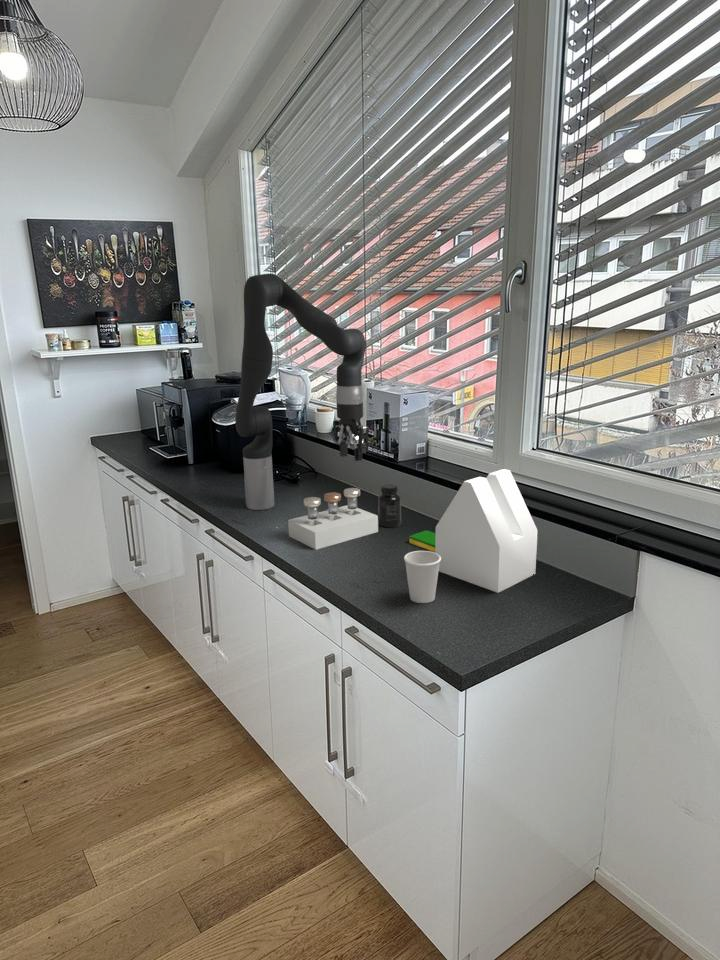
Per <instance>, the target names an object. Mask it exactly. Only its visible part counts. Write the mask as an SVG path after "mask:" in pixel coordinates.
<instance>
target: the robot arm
mask: <svg viewBox="0 0 720 960" xmlns="http://www.w3.org/2000/svg"><path fill="white" fill-rule="evenodd" d="M274 306H277V307H279V308H282V309H284V310H287V311H288V312H290V314H291V315H293V317H294V318H295V320H296V322H297V323H298V325H299V327H301V328H302V329H303V330H305V331H307V332H308V333H310V334H311V335H313V336H314V337H316V338H318V339H319V340H321V342H322V343H323V344H324V345H325V346H326V347H327V348H328V349H329V350H330V351H331V352H333V353H334V354H336V355H338V356H343V357H342V358H343V359H342V362H341V363H340V364H339V365H337V368H336V395H335V396H336V397H335V398H336V400H335V401H336V417H337V418H338V419H337V420H333V421H332V424H333V435H334V441H335V442H338V444H339V455H340V457H342V458H344V457H347V456H349V455H348V454H349V453H348V452H349V451H348V447H349V446H348V441H349V439H350V441H351V442H352V443H353V447H354V450H353V451H354V461H355V462H360V461H363V448H364V447H367V446H369V425H362V423H361V420H362V418H363V417H364V392H363V383H362V381H363V377H362V369H363V365H364V359H365V354H366V338H365V335H364V334H363V333H364V332H362V331H361V330H360V329H358V328H345V329H344V328H341V327H340V326H338V321H337V320H336V319H335V318H334V317H332V315H330V314H328V313H326V312H325V311H323V310H321V309H320V308H318V307H317V306H316V305H314V304H312V303H311V302H309V301H308V300H306V299H305V298H304V297H303V296H302V295H300V294H299V293H298V292H297V291H296V290H294V289H293V287H292V286H290V285H288V283H287V282H286V281H284V280H283V279H282V278H281V277H280V276H278V275H277V274H274V273H263V274H256V275H252V276H249V277H248V278H247V279H246V281H245V284H244V287H243V316H244V317H243V319H244V320H243V321H244V323H243V325H244V326H243V346H242V351H241V354H242V355H241V371H240V386H239V393H238V397H237V398H238V399H237V405H236V411H235V421H234V422H235V429H236V433H237V434H238V435H239V436H240V437H243V438H248V437H249V438H250V437H255V438H253V439H254V440H253V441H251V442H250V443H249V444H246V446H244V447H243V448H242V460H243V471H244V472H243V473H244V475H243V476H244V478H243V479H244V480H243V481H244V494H245V495H244V496H245V497H244V498H245V505H246V508H247V509H248V510H254V511H262V510H269V509H271V508H273V507H274V506H275V490H274V476H273V475H274V474H273V470H274V469H273V457H272V456H273V455H272V450H273V417H272V412H271V411H270V409H269V408H268V407H267V406H265V405H259V406H254V405H255V404H254V403H255V399H256V397H257V395H258V393H259V392H260V390H261V389H262V387H263V386H264V385H265V383H266V382H267V380H268V378H270V375H271V373H272V368H273V358H274V356H273V355H274V349H273V345H272V342H271V340H270V338H269V336H268V333H267V330H266V326H265V325H266V312H267V307H268V308H269V307H274Z"/></svg>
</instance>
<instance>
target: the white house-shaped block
mask: <svg viewBox="0 0 720 960" xmlns="http://www.w3.org/2000/svg"><path fill="white" fill-rule="evenodd" d="M532 517H533V516H532V514H531V513H530V511H529V508H528V507H527V505H526V503H525V500H524V497H523V496H522V493H521V491H520V489H519V487H518V485H517V482H516V480H515V478H514V476H513V474H512V471H511V470H510V469H504V468H503V469H502V468H501V469H499V470H497V471H492V472H490V473H489V474H487V476H486V477H482V476H478V477H474V478H471V479H467V480H464V481H463V483H462V484H461V486H460V487H459V489H458V491H457V493H456V494H455V496H454V497H453V499H452V500H451V502H450V503H449V505H448V507H447V508H446V510H445V511H444V513H443V515H442V516H441V518H440V519H439V521H438V522H437V524H436V526H435V533H436V543H435V552H434V553H436V554H438V555H439V556H440V557H441V561H440V564H439V571H438V572H439V573H443V574H446V575H448V576H450V577H453V578H456V579H459V580H462V581H465V582H467V583H470V584H472V585H476V586H478V587H481V588H484V589H486V590H489V591H492V592H494V593H497V594H498V593H501V592H503V591H505V590H506V589H508V588H511V587H512V586H514V585H517V584H518V583H520V582H523V581H524V580H526V579H528V578H530V577H532V576H534V575H536V572H537V571H536V569H537V568H536V567H537V551H538V550H537V549H538V548H537V547H538V528H537V526H536V524H535V522H534V519H533V518H532ZM533 574H534V575H533Z"/></svg>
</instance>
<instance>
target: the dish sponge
mask: <svg viewBox="0 0 720 960" xmlns="http://www.w3.org/2000/svg"><path fill="white" fill-rule="evenodd" d="M408 539H409V541H408V542H409V544H411V545H414V546H417V547H419V548H423V549H425V550H426V551H430V552H434V553H435V543H436V532H434V531H433V532H432V531H430V530H423V531H420V532H417V533H413V534H412V535H409V538H408Z"/></svg>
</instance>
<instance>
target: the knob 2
mask: <svg viewBox="0 0 720 960" xmlns="http://www.w3.org/2000/svg"><path fill="white" fill-rule="evenodd" d="M343 496H344V497H346V499H347V500H346V501H347V505H348V509H357V508H358V498H359V497H360V496H361V489H360V488H357V487H348V488H344V490H343Z"/></svg>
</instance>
